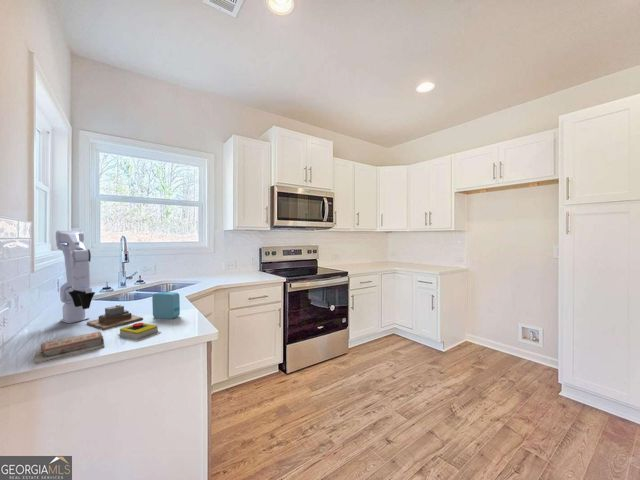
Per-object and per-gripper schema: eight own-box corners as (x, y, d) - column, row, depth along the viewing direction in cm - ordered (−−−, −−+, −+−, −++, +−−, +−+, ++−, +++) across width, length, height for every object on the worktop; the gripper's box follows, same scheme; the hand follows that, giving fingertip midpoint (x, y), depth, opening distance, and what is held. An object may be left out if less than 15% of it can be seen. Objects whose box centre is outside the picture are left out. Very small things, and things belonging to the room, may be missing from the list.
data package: (180, 316, 138) (179, 292, 138) (173, 319, 134) (172, 294, 133) (159, 315, 141) (159, 291, 140) (152, 317, 136) (151, 293, 136)
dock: (86, 324, 127) (86, 316, 127) (125, 314, 141) (125, 308, 141) (103, 330, 119) (103, 322, 119) (142, 319, 133) (142, 312, 133)
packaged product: (101, 328, 108) (104, 335, 101) (101, 340, 108) (105, 348, 101) (35, 341, 96) (33, 350, 89) (35, 355, 96) (34, 365, 89)
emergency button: (138, 319, 122) (162, 323, 116) (138, 328, 122) (162, 333, 116) (116, 325, 113) (140, 330, 107) (116, 336, 113) (140, 341, 108)
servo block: (100, 322, 127) (99, 307, 126) (124, 316, 135) (124, 302, 135) (104, 323, 125) (104, 308, 124) (128, 317, 133) (128, 303, 133)
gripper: (62, 277, 122) (63, 307, 122) (76, 279, 115) (78, 312, 115) (82, 274, 128) (83, 303, 129) (97, 277, 121) (98, 308, 121)
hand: (82, 307), depth 122 cm, fingers open, 7 cm apart
